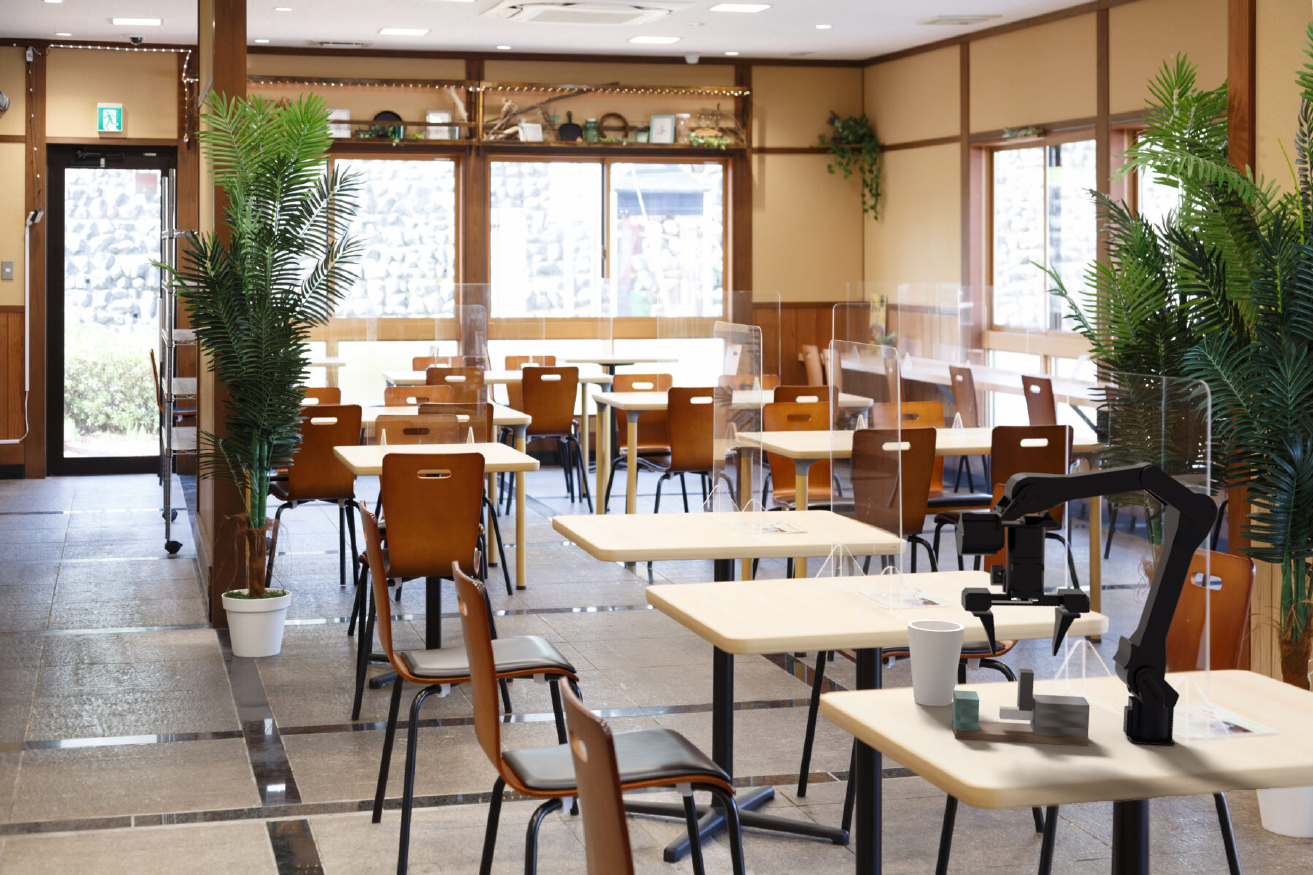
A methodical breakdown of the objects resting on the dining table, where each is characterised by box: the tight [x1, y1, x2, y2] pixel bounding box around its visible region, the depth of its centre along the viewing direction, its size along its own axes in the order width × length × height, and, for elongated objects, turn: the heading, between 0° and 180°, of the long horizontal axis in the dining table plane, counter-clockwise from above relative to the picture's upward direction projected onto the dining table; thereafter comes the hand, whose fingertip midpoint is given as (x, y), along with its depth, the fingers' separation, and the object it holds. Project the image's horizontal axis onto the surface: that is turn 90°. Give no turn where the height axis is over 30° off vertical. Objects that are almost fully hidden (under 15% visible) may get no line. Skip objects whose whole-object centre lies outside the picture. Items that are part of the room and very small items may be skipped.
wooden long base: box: [951, 689, 1090, 747], centre depth 222 cm, size 20×7×6 cm, turn 83°
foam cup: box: [906, 619, 965, 707], centre depth 241 cm, size 10×9×13 cm
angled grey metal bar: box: [998, 668, 1035, 721], centre depth 221 cm, size 13×2×8 cm, turn 83°
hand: (1023, 654), depth 222 cm, fingers open, 9 cm apart
